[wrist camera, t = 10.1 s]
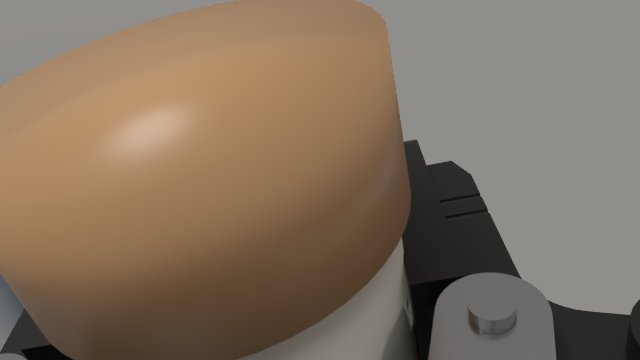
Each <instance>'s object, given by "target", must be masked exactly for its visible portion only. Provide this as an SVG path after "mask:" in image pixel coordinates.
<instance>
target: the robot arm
mask: <svg viewBox="0 0 640 360" xmlns="http://www.w3.org/2000/svg"><path fill="white" fill-rule="evenodd" d="M404 148H405V155H406V162H407V169H408V175H409V182H410V189H411V208H410V213H409V217H408V221H407V225H406V228H405V230H404V232H403V234H402V242H403V249H404V255H403V260H404V266H405V272H406V279H407V285H408V291H409V297H410V303H411V309H412V316H413V322H414V328H415V334H416V340H417V347H418V353H419V359H420V360H640V300H639V301H638V302H637V303H636V304H635V306H634V307H633V309H632V312H631V315H622V314H611V313H600V312H589V311H582V310H575V309H571V308H567V307H563V306H560V305H558V304H555V303H552V302H550V301H548V300H547V299H546V298H545V296H544V295H543V294H542V293H541V292H540V291H539V290H538V289H537V288H535V287H534V286H533V285H531V284H530V283H528V282H526V281H524V280H522V279H521V277H520V275H519V274H518V272H517V269H516V267H515V265H514V263H513V261H512V259H511V257H510V255H509V253H508V251H507V249H506V247H505V244H504V242H503V240H502V238H501V236H500V234H499V232H498V230H497V228H496V226H495V224H494V222H493V220H492V217H491V215H490V213H488V210H487V207H486V205H485V203H484V201H483V199H482V197H480V193H479V191H478V188H477V186H476V184H475V182H474V180H473V178H472V176H471V174H469V173H467V172H466V171H465V170H464V169H462V168H461V167H459V166H458V165H456V164H455V163H454V162H452V161H449V162H443V163H437V164H432V165H427V166H426V164H425V160H424V158H423V155H422V152H421V149H420V147H419V144H418V141H417V140H411V141H406V142H404ZM0 360H74V359H72V358H70V357H68V356H66V355H64V354H62V353H61V352H60V351H59V350H58V349H57V348H55V347H54V346H53V345H52V344H51V343H50V342H48V340H47V339H46V338H45V336H44V335H43V333H42V332H41V331H40V329H39V328H38V326H37V325H36V323H35V322H34V321H33V319H32V318H31V316H30V315H29V314H28V312H27V311H26V309H24V311H23V312H22V314H21V316H20V318H19V319H18V321H17V323H16V325H15V327H14V328H13V331H12V332H11V334H10V336H9V337H8V339H7V341H6V343H5V344H4V346H3V348H2V350H1V352H0Z"/></svg>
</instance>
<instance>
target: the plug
mask: <svg viewBox="0 0 640 360" xmlns="http://www.w3.org/2000/svg"><path fill="white" fill-rule="evenodd" d="M410 208H411V189H410V182H409V175H408V169H407V162H406V155H405V148H404V141H403V135H402V128H401V121H400V115H399V108H398V101H397V95H396V88H395V81H394V74H393V68H392V60H391V54H390V47H389V41H388V33H387V28H386V23H385V21H384V20H383V19H382V17H381V16H380V14H379V13H377V12H376V11H375V10H373V9H372V8H371V7H369V6H366V5H364V4H362V3H360V2H357V1H353V0H239V1H233V2H227V3H221V4H216V5H212V6H207V7H202V8H198V9H194V10H189V11H185V12H181V13H178V14H174V15H170V16H167V17H163V18H159V19H156V20H153V21H150V22H146V23H143V24H140V25H137V26H134V27H131V28H128V29H125V30H122V31H119V32H116V33H114V34H111V35H108V36H106V37H103V38H100V39H98V40H95V41H93V42H90V43H88V44H85V45H83V46H81V47H78V48H76V49H73V50H71V51H69V52H67V53H64V54H62V55H60V56H58V57H56V58H53V59H51V60H49V61H47V62H45V63H43V64H42V65H39V66H37V67H35V68H33V69H31V70H30V71H28V72H26V73H24V74H22V75H21V76H19V77H17V78H15V79H13V80H12V81H10V82H9V83H7V84H5V85H4V86H2V87H0V274H1V275H2V277H3V278H4V280H5V281H6V282H7V284H8V285H9V287H10V288H11V290H12V291H13V292H14V294H15V295H16V297H17V298H18V299H19V300H20V302H21V304H22V305H23V306H24V308H25V309H26V311H27V312H28V314H29V315H30V316H31V318H32V319H33V321H34V322H35V323H36V325H37V326H38V328H39V329H40V331H41V332H42V333H43V335H44V336H45V338H46V339H47V340H48V342H50V343H51V344H52V345H53V346H54V347H55V348H57V349H58V350H59V351H60V352H61V353H62V354H64V355H66V356H68V357H70V358H72V359H74V360H420V359H419V353H418V347H417V340H416V334H415V328H414V322H413V316H412V309H411V303H410V297H409V291H408V285H407V279H406V272H405V266H404V260H403V255H404V249H403V242H402V234H403V232H404V230H405V228H406V225H407V221H408V217H409V213H410Z"/></svg>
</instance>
